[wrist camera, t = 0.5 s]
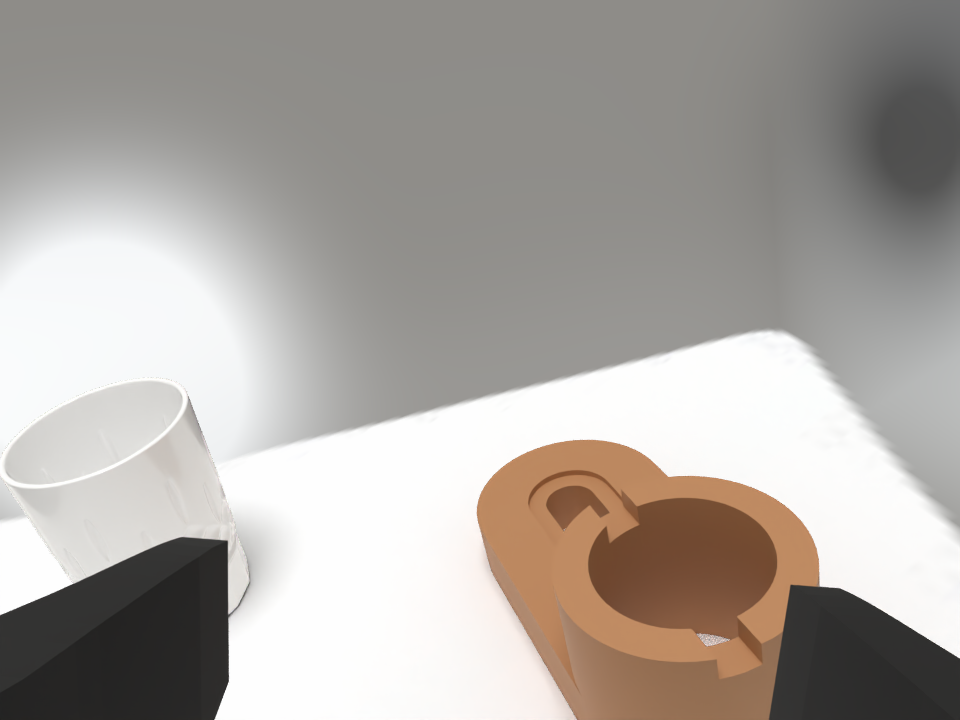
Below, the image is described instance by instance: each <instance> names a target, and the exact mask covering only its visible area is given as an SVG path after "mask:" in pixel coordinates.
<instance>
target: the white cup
mask: <svg viewBox="0 0 960 720" xmlns="http://www.w3.org/2000/svg"><path fill="white" fill-rule="evenodd" d="M0 477H1V478H2V480H3V481H4V483H5V484H6V486H7V487H8V489H9V490H10V492H11V493H12V495H13V496H14V498H15V499H16V501H17V502H18V504H19V505H20V507H21V508H22V510H23V511H24V513H25V514H26V516H27V517H28V519H29V520H30V522H31V523H32V525H33V526H34V528H35V529H36V531H37V532H38V534H39V536H40V537H41V539H42V540H43V542H44V543H45V545H46V546H47V548H48V549H49V551H50V552H51V554H52V555H53V556H54V558H55V559H56V560H57V561H58V562H59V564H60V565H61V567H62V569H63V570H64V572H65V573H66V575H67V576H68V578H69V579H70V580H71V582H72V583H73V584H74V583H76V582H78V581H80V580H83V579H85V578H87V577H89V576H91V575H93V574H96V573H98V572H100V571H102V570H104V569H106V568H108V567H111V566H113V565H115V564H117V563H119V562H121V561H123V560H126V559H128V558H130V557H132V556H134V555H136V554H139V553H141V552H143V551H145V550H148V549H150V548H152V547H155V546H157V545H159V544H162V543H164V542H167V541H170V540H173V539H176V538H179V537H190V538H202V539H215V540H228V615H229V614H230V613H231V612H232V611H233V610H234V609H235V608H236V607H237V606H238V605H239V603H240V601H241V598H242V596H243V594H244V592H245V590H246V588H247V586H248V584H249V582H250V579H249V571H248V562H247V558H246V556H245V553H244V551H243V548H242V546H241V543H240V540H239V538H238V535H237V533H236V530H235V528H236V527H235V522H234V519H233V516H232V513H231V510H230V508H229V505H228V502H227V500H226V497H225V494H224V491H223V488H222V485H221V482H220V479H219V476H218V473H217V470H216V467H215V465H214V462H213V460H212V457H211V454H210V452H209V449H208V447H207V444H206V441H205V439H204V436H203V434H202V431H201V428H200V426H199V423H198V421H197V418H196V415H195V413H194V410H193V407H192V405H191V402H190V399H189V396H188V394H187V391H186V390H185V388H184V387H183V386H182V385H180V384H179V383H177V382H175V381H172V380H169V379H163V378H139V379H131V380H126V381H121V382H117V383H113V384H109V385H106V386H102V387H99V388H96V389H94V390H91V391H89V392H86V393H83V394H81V395H78V396H76V397H74V398H72V399H70V400H68V401H66V402H64V403H62V404H60V405H58V406H56V407H55V408H53V409H51V410H49V411H48V412H46V413H45V414H43V415H41V416H40V417H38V418H37V419H35V420H34V421H33V422H31V423H30V424H29V425H28V426H26V427H25V428H24V429H23V430H22V431H21V432H19V433H18V434H17V435H16V436H15V437H14V438H13V440H12V441H11V442H10V443H9V444H8V446H7V447H6V448H5V450H4V451H3V453H2V455H1V457H0Z"/></svg>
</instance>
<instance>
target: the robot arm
mask: <svg viewBox="0 0 960 720" xmlns="http://www.w3.org/2000/svg"><path fill="white" fill-rule="evenodd" d="M228 682H229V643H228V540H215V539H202V538H190V537H179V538H176V539H173V540H170V541H167V542H164V543H162V544H159V545H157V546H155V547H152V548H150V549H148V550H145V551H143V552H141V553H139V554H136V555H134V556H132V557H130V558H128V559H126V560H123V561H121V562H119V563H117V564H115V565H113V566H111V567H108V568H106V569H104V570H102V571H100V572H98V573H96V574H93V575H91V576H89V577H87V578H85V579H83V580H80V581H78V582H76V583H74V584H72V585H70V586H68V587H65V588H63V589H61V590H59V591H57V592H54V593H52V594H50V595H47V596H45V597H43V598H40V599H38V600H35V601H33V602H31V603H28V604H26V605H24V606H21V607H19V608H16V609H14V610H12V611H9V612H7V613H5V614H2V615H0V720H214V719H215V717H216V714H217V711H218V709H219V706H220V703H221V701H222V698H223V695H224V693H225V690H226V687H227V685H228ZM769 720H960V658H958V657H956V656H955V655H953V654H951V653H950V652H948V651H947V650H945V649H943V648H942V647H940V646H938V645H937V644H935V643H934V642H932V641H930V640H929V639H927V638H926V637H924V636H922V635H921V634H919V633H917V632H916V631H914V630H913V629H911V628H909V627H908V626H906V625H905V624H903V623H901V622H900V621H898V620H896V619H895V618H893V617H892V616H890V615H888V614H887V613H885V612H883V611H882V610H880V609H878V608H876V607H875V606H873V605H871V604H870V603H868V602H866V601H864V600H862V599H861V598H859V597H857V596H855V595H853V594H851V593H849V592H846V591H844V590H842V589H840V588H828V587H815V586H803V585H790V591H789V597H788V603H787V609H786V616H785V622H784V628H783V634H782V641H781V647H780V653H779V659H778V665H777V672H776V678H775V684H774V690H773V697H772V703H771V709H770V715H769Z"/></svg>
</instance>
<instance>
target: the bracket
mask: <svg viewBox="0 0 960 720" xmlns="http://www.w3.org/2000/svg"><path fill="white" fill-rule="evenodd" d="M477 518H478V523H479V527H480V530H481V534H482V538H483V542H484V545H485V549H486V553H487V557H488V561H489V564H490V568H491V571H492V573H493V575H494V577H495V578H496V580H497V582H498V584H499V585H500V587H501V589H502V590H503V592H504V594H505V596H506V597H507V599H508V601H509V603H510V604H511V606H512V608H513V609H514V611H515V613H516V615H517V616H518V618H519V620H520V622H521V623H522V625H523V627H524V628H525V630H526V632H527V634H528V635H529V637H530V639H531V640H532V642H533V644H534V646H535V647H536V649H537V651H538V653H539V654H540V656H541V658H542V659H543V661H544V663H545V665H546V666H547V668H548V670H549V671H550V673H551V675H552V677H553V678H554V680H555V682H556V684H557V685H558V687H559V689H560V690H561V692H562V694H563V696H564V697H565V699H566V701H567V703H568V704H569V706H570V708H571V709H572V711H573V713H574V715H575V716H576V718H577V720H769V715H770V709H771V703H772V697H773V690H774V684H775V678H776V672H777V665H778V659H779V653H780V647H781V641H782V634H783V628H784V622H785V616H786V609H787V603H788V597H789V591H790V585H803V586H815V587H819V559H818V554H817V549H816V546H815V544H814V541H813V539H812V537H811V535H810V533H809V531H808V530H807V528H806V527H805V526H804V524H803V523H802V521H801V520H800V519H799V518H798V517H797V516H796V515H795V514H794V513H793V512H792V511H791V510H789V509H788V508H787V507H786V506H785V505H783V504H782V503H780V502H779V501H777V500H776V499H774V498H772V497H771V496H769V495H767V494H765V493H763V492H761V491H759V490H756V489H754V488H752V487H749V486H746V485H743V484H740V483H736V482H732V481H728V480H723V479H718V478H711V477H700V476H676V477H668V476H667V475H666V474H665V473H664V472H663V471H662V470H661V469H660V468H659V467H658V466H656V465H655V464H654V463H653V462H652V461H651V460H650V459H649V458H648V457H646V456H645V455H643V454H642V453H640V452H638V451H636V450H634V449H632V448H629V447H627V446H624V445H621V444H617V443H612V442H607V441H599V440H573V441H565V442H559V443H554V444H550V445H546V446H543V447H540V448H537V449H534V450H532V451H529V452H527V453H525V454H523V455H521V456H519V457H517V458H515V459H514V460H512V461H510V462H509V463H508V464H506V465H505V466H503V467H502V468H501V469H500V470H499V471H498V472H496V473H495V474H494V475H493V476H492V478H491V479H490V480H489V481H488V483H487V484H486V485H485V487H484V489H483V491H482V492H481V495H480V497H479V500H478V505H477ZM565 528H566V529H565ZM564 529H565V531H563V530H564ZM695 633H700V634H711V635H716V636H721V637H724V638H728V639H731V640H729V641H727V642H724V643H720V644H717V645H713V646H708V647H706V646H705V644H704V643H703V642H702V641H701V640H700V638H699V637H698V636H697V635H696V634H695Z"/></svg>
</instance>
